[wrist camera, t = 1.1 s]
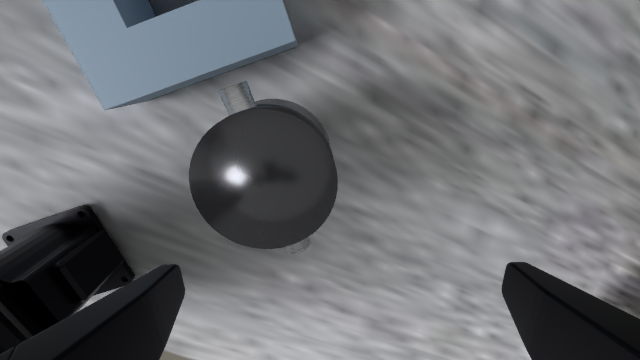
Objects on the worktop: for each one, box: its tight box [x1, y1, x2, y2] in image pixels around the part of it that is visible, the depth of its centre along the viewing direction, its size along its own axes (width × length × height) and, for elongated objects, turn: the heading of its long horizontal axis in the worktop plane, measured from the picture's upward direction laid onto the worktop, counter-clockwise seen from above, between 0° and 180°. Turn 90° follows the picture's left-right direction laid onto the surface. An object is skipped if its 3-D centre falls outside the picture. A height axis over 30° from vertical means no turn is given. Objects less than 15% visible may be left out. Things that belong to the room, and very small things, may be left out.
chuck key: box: [189, 81, 338, 253], centre depth 17 cm, size 8×6×8 cm
